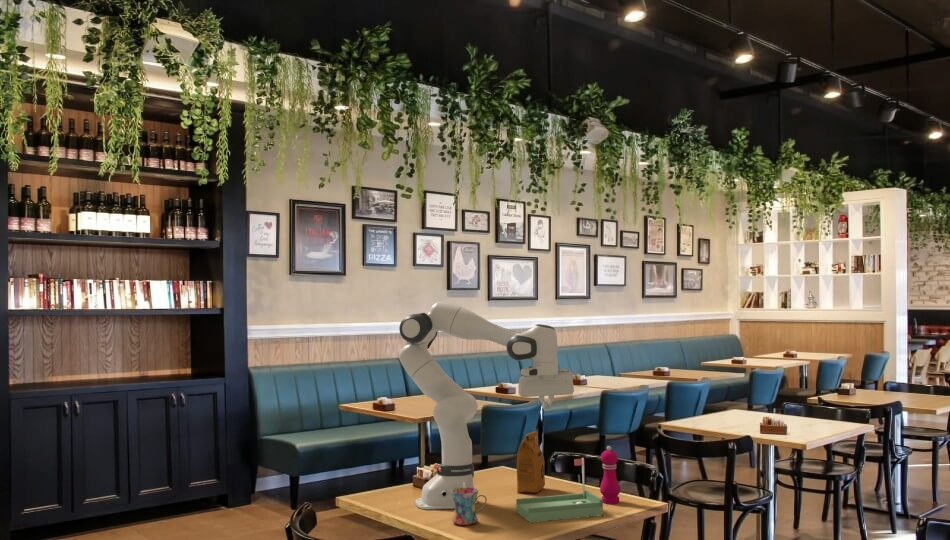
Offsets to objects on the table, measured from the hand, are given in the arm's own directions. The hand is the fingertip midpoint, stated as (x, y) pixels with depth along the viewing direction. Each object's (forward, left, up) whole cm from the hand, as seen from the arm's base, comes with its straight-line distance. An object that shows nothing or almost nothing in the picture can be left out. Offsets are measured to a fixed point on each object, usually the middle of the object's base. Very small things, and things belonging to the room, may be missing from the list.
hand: (546, 408), depth 292 cm
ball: (+6, -13, -32) cm, 35 cm away
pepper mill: (+22, -4, -34) cm, 41 cm away
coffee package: (+1, +22, -34) cm, 41 cm away
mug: (-33, -14, -34) cm, 50 cm away
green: (-1, -13, -34) cm, 36 cm away
